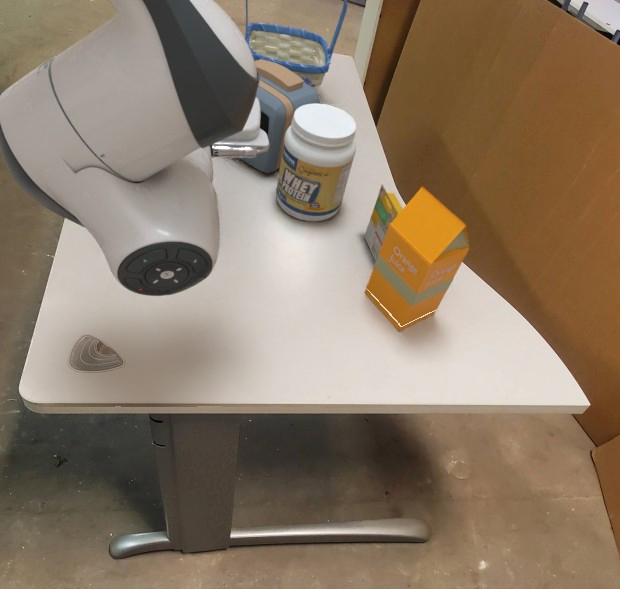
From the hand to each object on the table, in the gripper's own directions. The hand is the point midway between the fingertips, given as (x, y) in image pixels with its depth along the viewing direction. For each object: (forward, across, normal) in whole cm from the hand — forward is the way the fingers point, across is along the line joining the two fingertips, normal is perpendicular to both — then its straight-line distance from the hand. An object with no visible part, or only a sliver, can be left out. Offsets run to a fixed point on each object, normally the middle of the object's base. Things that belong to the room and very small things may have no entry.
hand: (161, 80), depth 58 cm
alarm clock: (+34, -19, +30) cm, 49 cm away
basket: (+55, -27, +30) cm, 68 cm away
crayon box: (+3, -35, +30) cm, 46 cm away
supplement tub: (+16, -25, +30) cm, 42 cm away
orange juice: (-9, -35, +30) cm, 47 cm away
